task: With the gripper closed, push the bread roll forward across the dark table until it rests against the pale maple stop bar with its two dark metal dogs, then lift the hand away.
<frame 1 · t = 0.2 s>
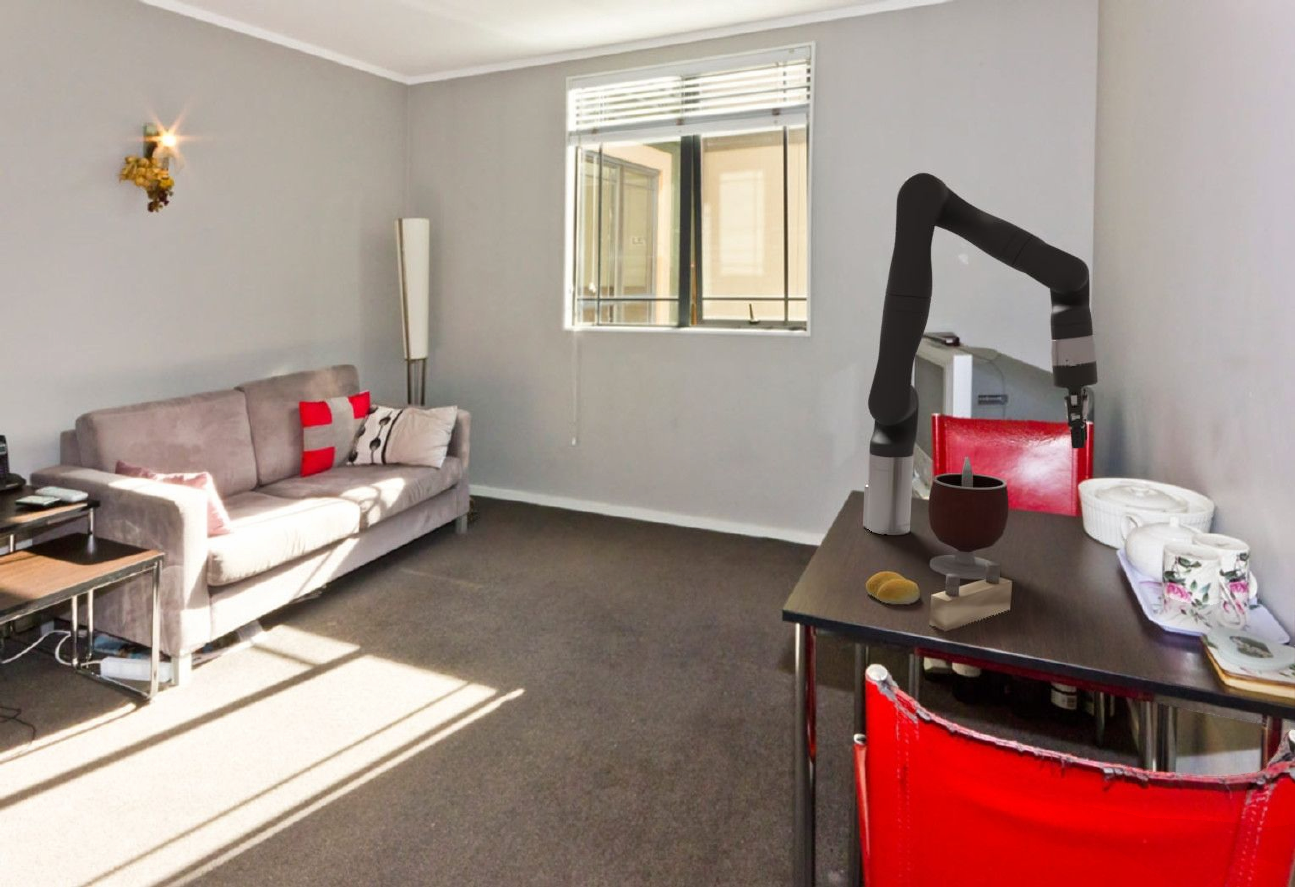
hand: (1079, 444, 154), 22 cm above the table, tool pointing down, fingers open, 8 cm apart
bread roll: (891, 597, 137), on the table
stop bar: (970, 617, 127), on the table
mate gourd: (963, 567, 151), on the table
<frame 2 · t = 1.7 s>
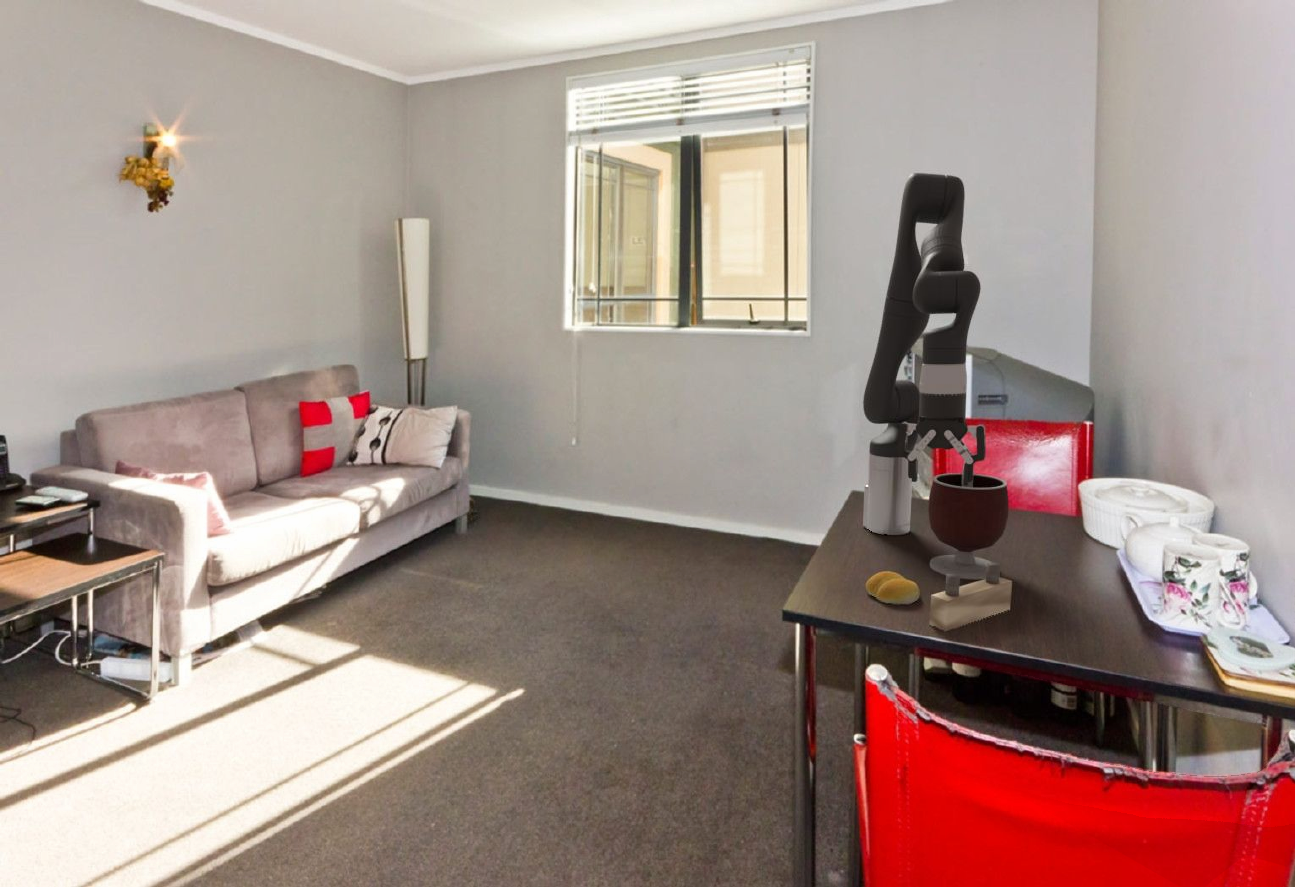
hand: (939, 482, 138), 19 cm above the table, tool pointing down, fingers open, 8 cm apart
nothing on the table moved.
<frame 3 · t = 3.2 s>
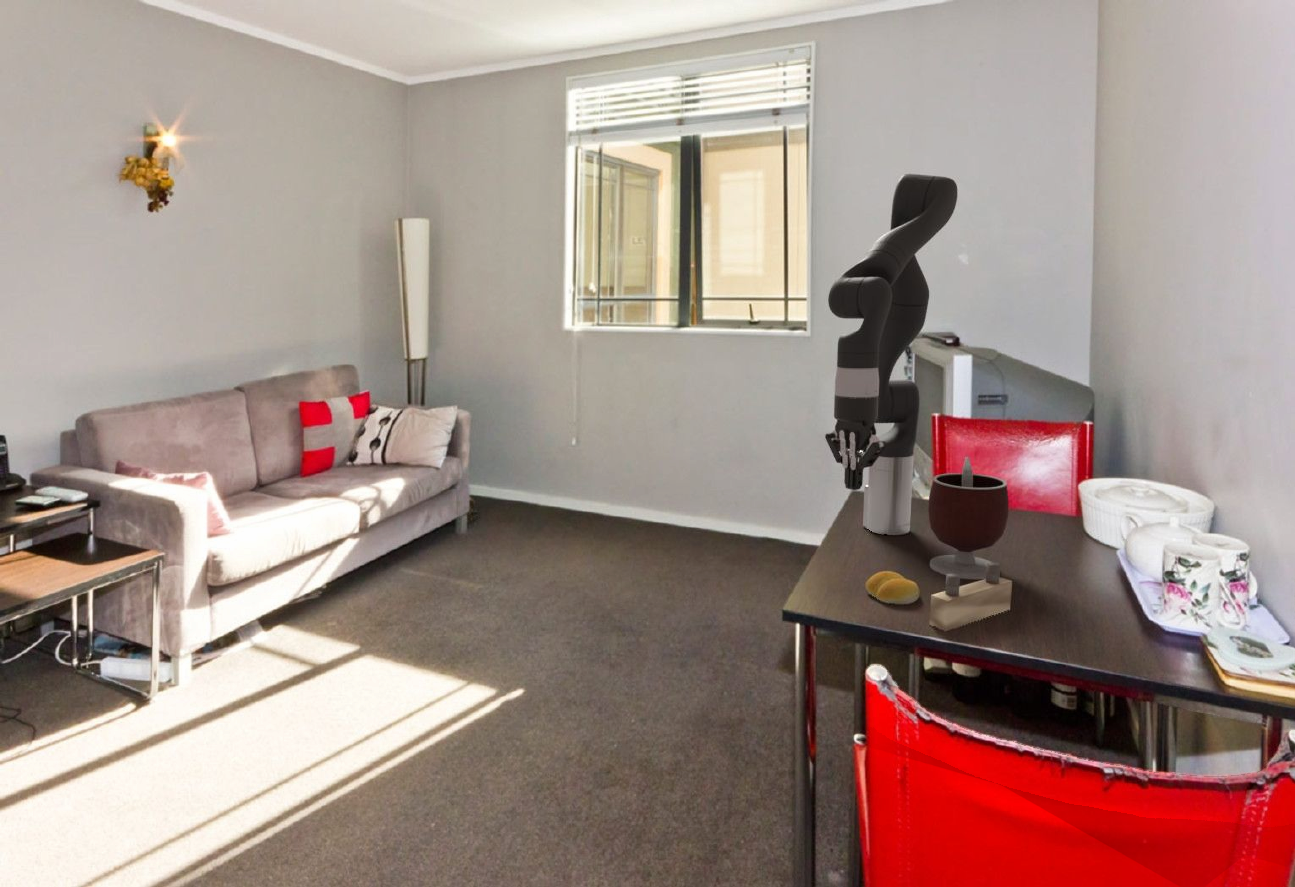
hand: (853, 488, 143), 17 cm above the table, tool pointing down, fingers closed
nothing on the table moved.
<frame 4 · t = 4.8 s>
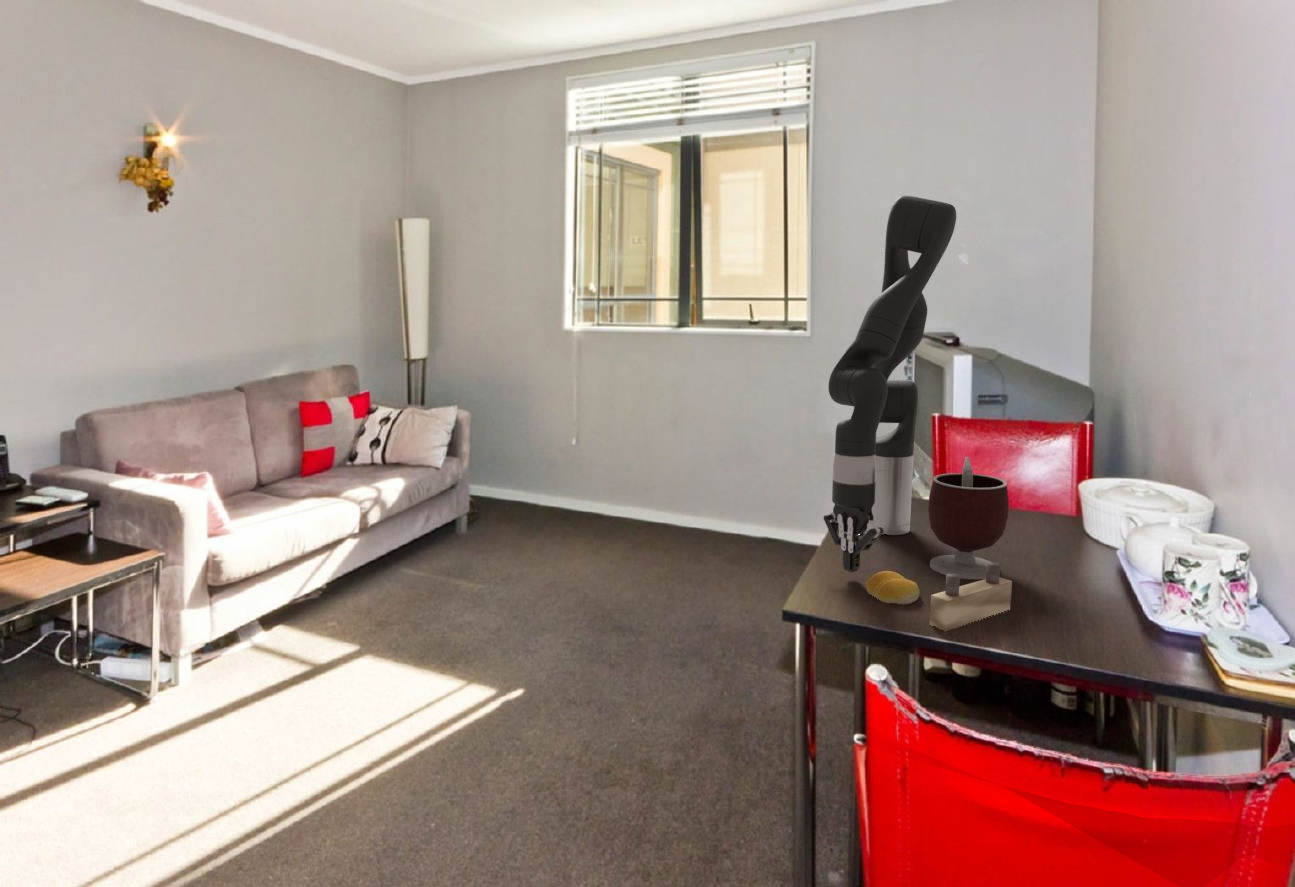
hand: (850, 570, 145), 2 cm above the table, tool pointing down, fingers closed
nothing on the table moved.
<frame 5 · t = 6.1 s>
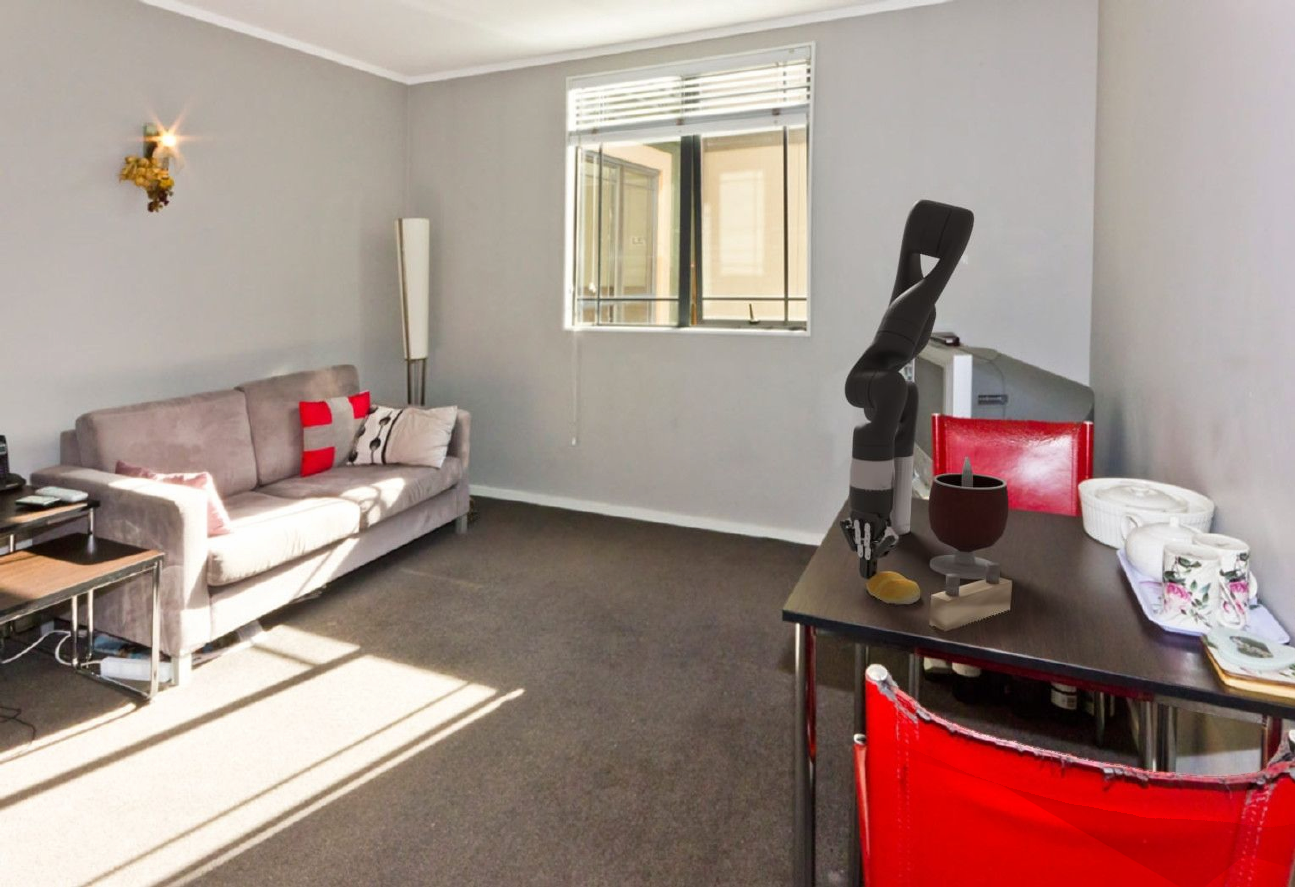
hand: (867, 577, 141), 2 cm above the table, tool pointing down, fingers closed
bread roll: (892, 597, 137), on the table, touching gripper
everything else where it was.
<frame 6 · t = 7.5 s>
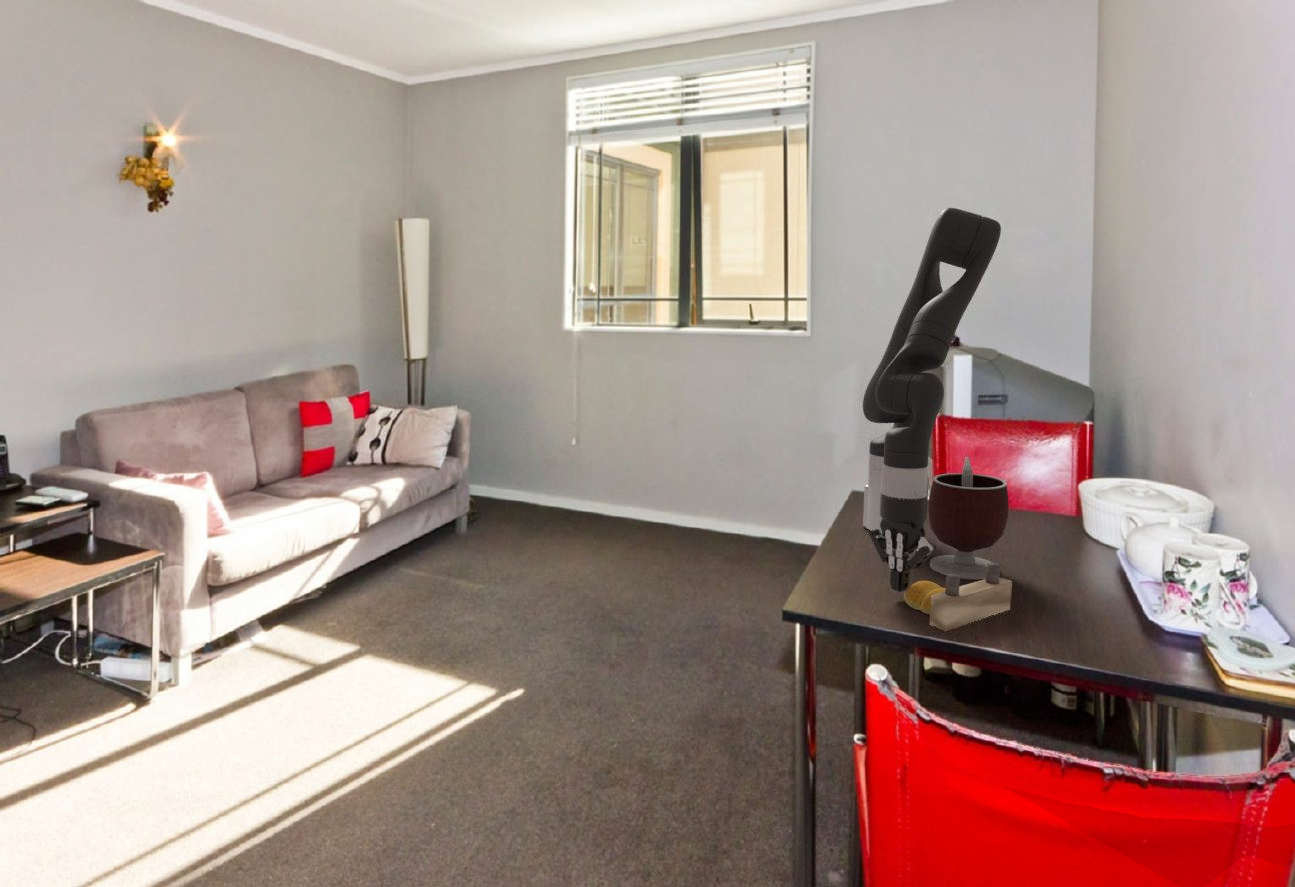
hand: (899, 589, 135), 2 cm above the table, tool pointing down, fingers closed
bread roll: (931, 608, 132), on the table, touching gripper
everything else where it was.
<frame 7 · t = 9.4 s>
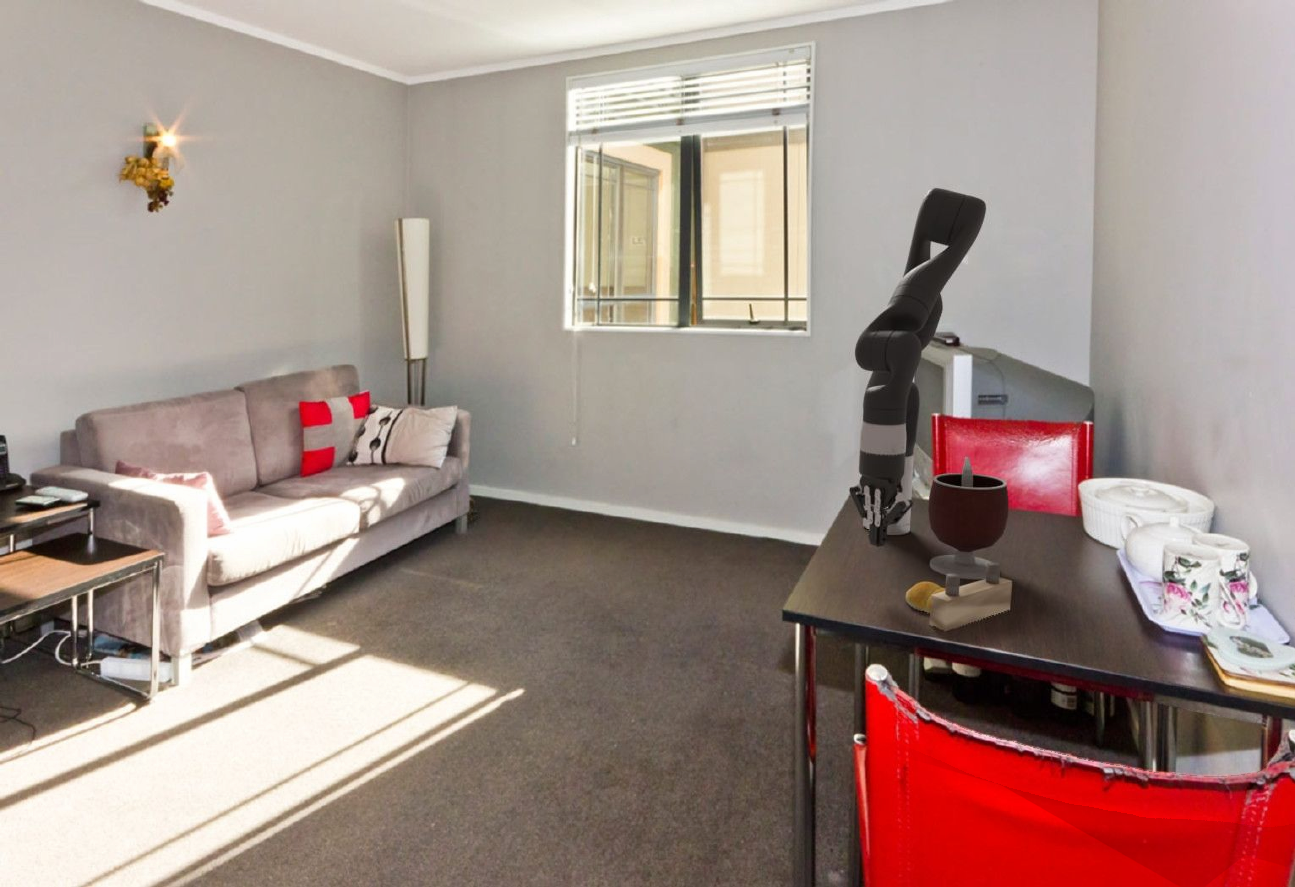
hand: (877, 544, 138), 8 cm above the table, tool pointing down, fingers closed
bread roll: (934, 608, 132), on the table
everything else where it was.
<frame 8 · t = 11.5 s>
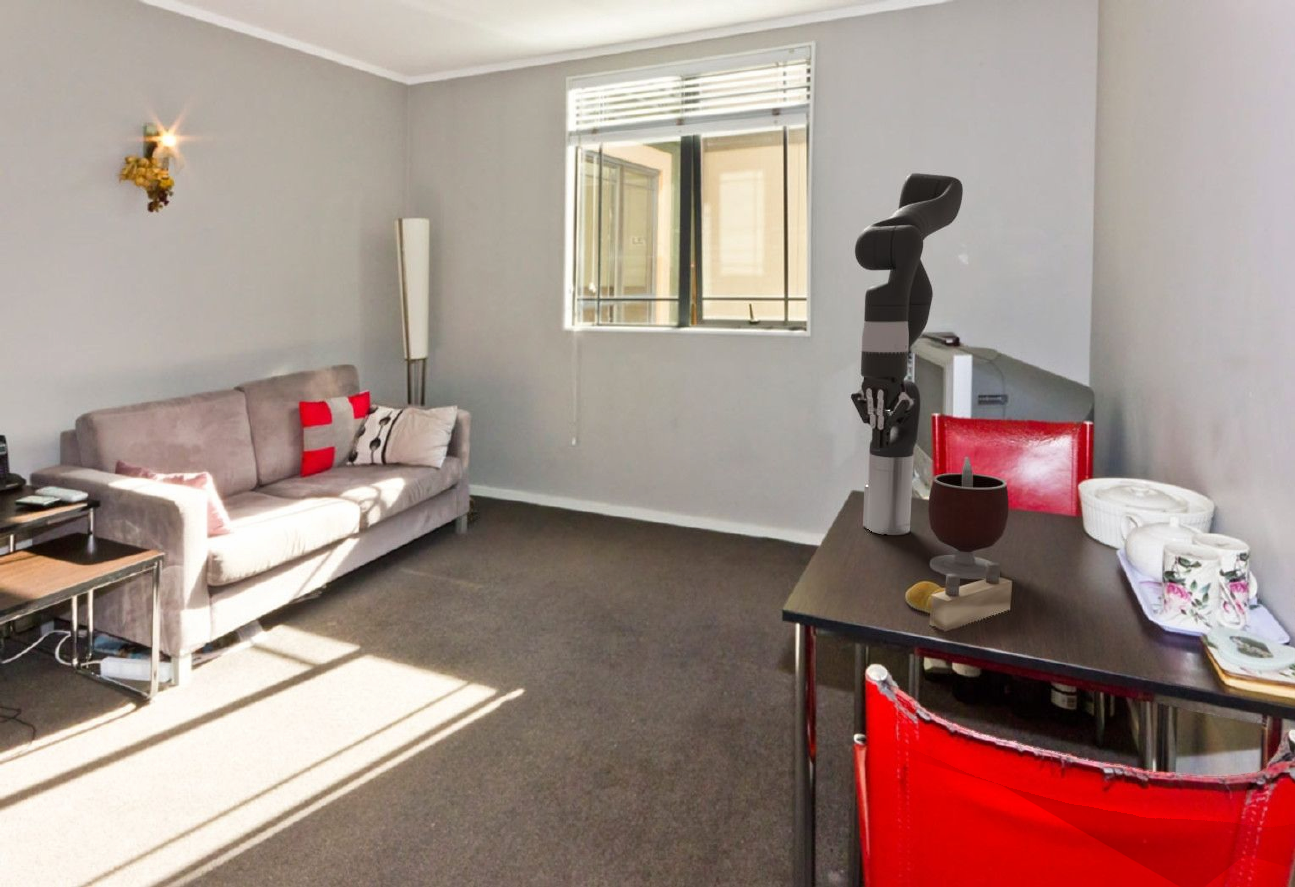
hand: (880, 450, 136), 25 cm above the table, tool pointing down, fingers closed
nothing on the table moved.
at the end: bread roll inside the target area (1.5 cm from its centre), on the table; bread roll moved 7.4 cm from its start; mate gourd moved 0.2 cm from its start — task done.
